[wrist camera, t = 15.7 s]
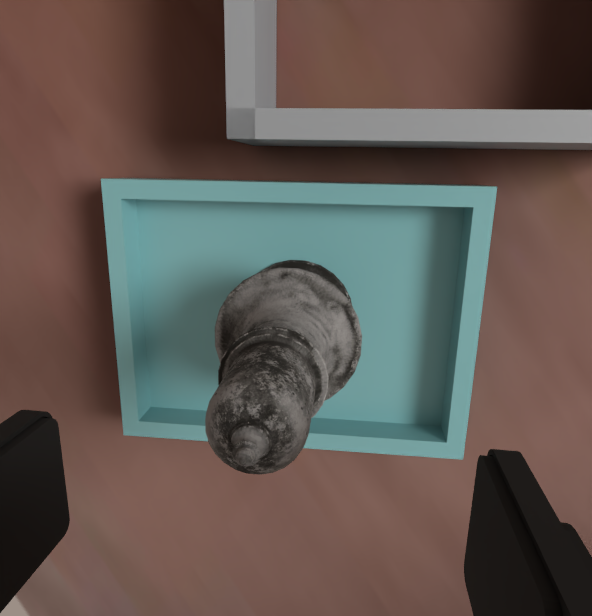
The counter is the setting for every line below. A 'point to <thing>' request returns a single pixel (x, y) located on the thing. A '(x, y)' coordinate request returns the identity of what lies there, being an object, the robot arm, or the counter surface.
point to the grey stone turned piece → (279, 362)
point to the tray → (320, 250)
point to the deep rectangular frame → (366, 122)
